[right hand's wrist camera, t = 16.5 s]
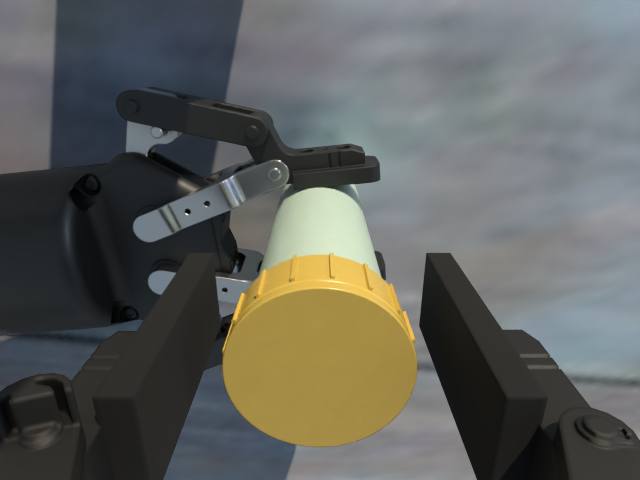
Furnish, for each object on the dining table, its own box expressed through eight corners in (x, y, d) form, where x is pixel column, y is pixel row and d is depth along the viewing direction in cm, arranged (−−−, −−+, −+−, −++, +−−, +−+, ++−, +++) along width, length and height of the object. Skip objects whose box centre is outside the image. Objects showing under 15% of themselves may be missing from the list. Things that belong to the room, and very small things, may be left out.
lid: (216, 373, 13) (199, 422, 11) (260, 228, 11) (249, 259, 10) (369, 414, 14) (375, 466, 12) (432, 282, 12) (452, 320, 10)
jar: (309, 139, 25) (294, 253, 10) (368, 179, 26) (434, 337, 11) (271, 198, 26) (209, 375, 12) (329, 233, 27) (340, 441, 12)
